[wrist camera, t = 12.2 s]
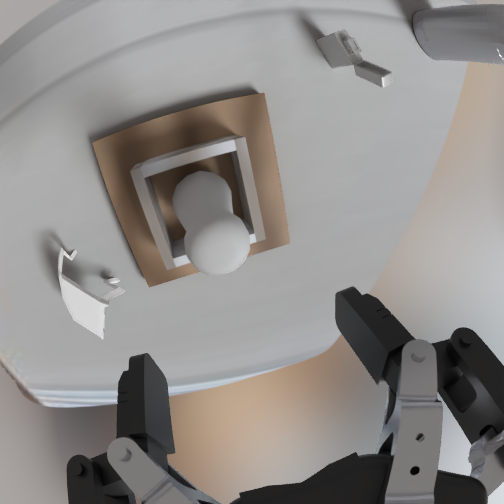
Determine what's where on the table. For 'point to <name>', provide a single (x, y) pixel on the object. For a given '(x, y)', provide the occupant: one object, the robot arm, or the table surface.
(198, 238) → the salt shaker
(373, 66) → the lighter
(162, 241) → the wooden base with frame
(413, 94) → the table surface
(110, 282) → the white bent open piece
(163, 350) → the table surface
